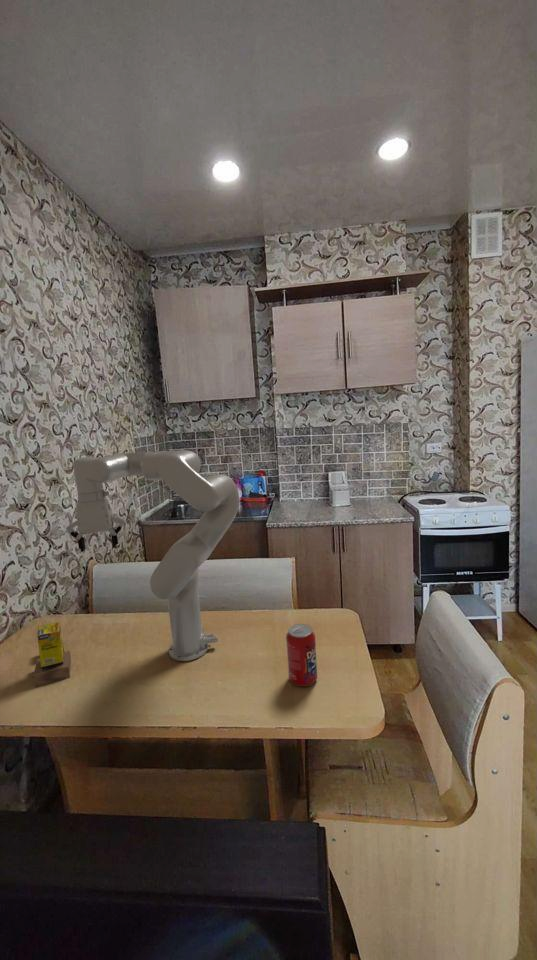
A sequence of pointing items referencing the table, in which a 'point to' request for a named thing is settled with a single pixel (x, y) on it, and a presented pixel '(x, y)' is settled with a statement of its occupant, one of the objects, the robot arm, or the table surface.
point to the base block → (53, 671)
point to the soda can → (301, 655)
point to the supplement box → (50, 645)
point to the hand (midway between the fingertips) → (99, 548)
